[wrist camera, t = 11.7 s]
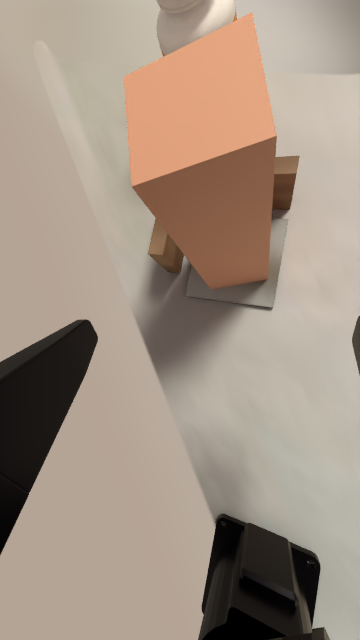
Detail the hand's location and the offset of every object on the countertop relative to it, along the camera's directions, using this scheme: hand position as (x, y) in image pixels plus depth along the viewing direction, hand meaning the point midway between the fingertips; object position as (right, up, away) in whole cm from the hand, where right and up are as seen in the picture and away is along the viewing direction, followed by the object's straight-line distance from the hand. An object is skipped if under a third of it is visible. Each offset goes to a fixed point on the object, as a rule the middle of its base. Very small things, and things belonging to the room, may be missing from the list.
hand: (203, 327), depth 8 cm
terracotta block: (+4, +5, +11) cm, 13 cm away
